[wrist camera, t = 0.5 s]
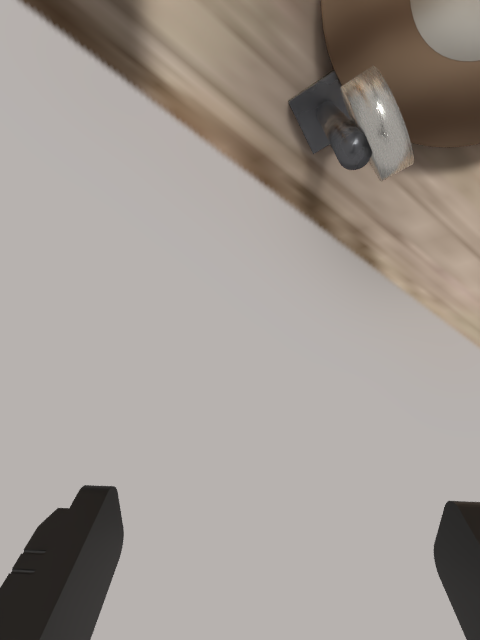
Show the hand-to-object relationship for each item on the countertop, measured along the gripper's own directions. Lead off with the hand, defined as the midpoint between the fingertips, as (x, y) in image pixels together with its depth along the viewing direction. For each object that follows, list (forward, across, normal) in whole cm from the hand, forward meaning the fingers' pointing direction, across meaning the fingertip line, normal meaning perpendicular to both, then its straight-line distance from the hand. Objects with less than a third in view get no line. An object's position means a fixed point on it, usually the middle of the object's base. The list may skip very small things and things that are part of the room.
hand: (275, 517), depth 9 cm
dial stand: (+25, -4, -12) cm, 28 cm away
